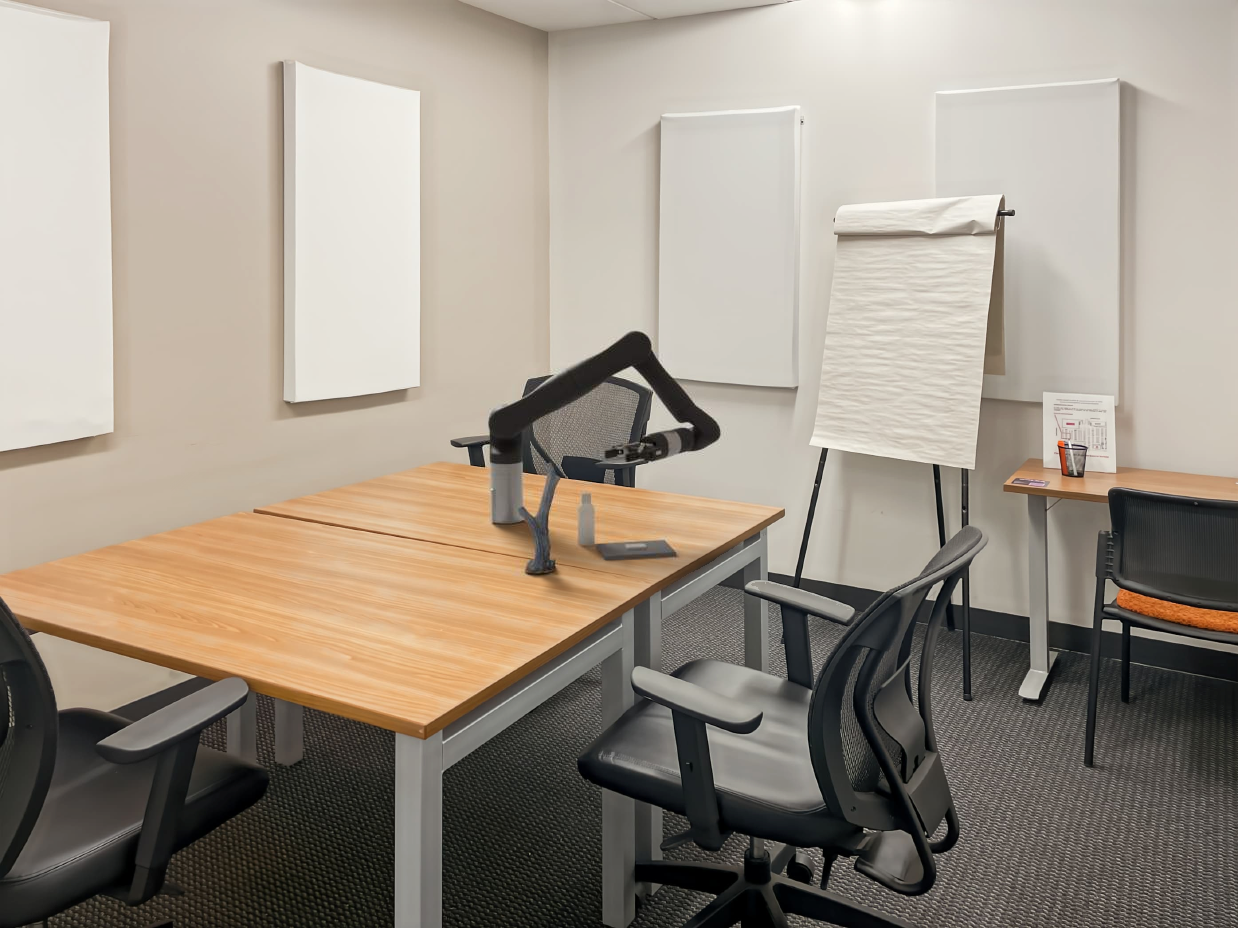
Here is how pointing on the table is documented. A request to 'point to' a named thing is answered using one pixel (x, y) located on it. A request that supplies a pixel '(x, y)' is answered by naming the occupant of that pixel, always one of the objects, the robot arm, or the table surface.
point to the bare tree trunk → (542, 526)
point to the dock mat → (635, 549)
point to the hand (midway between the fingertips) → (615, 456)
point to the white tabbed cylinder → (586, 521)
